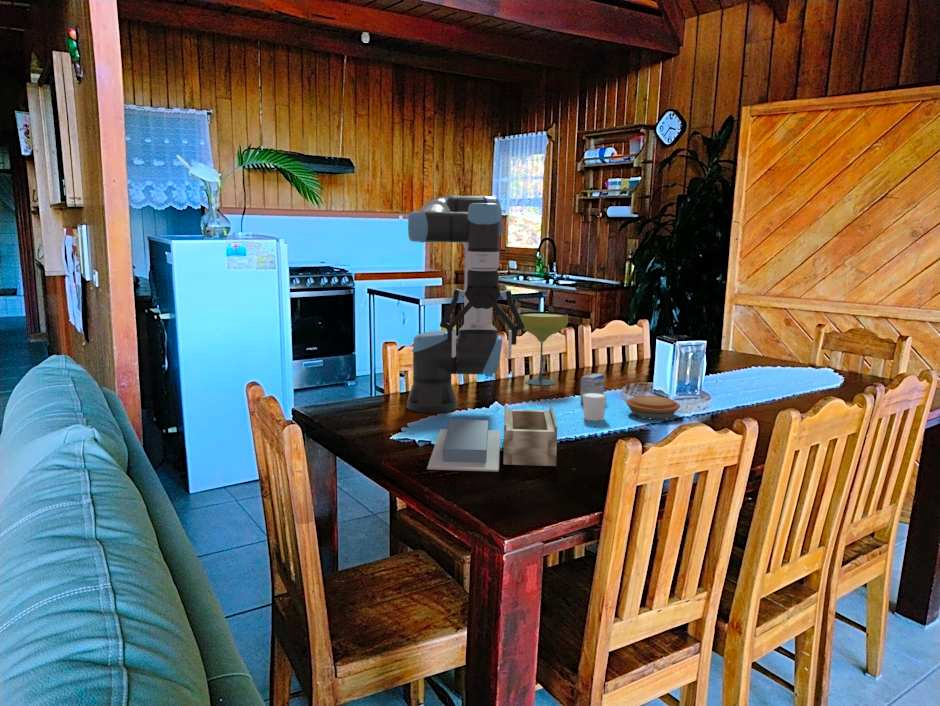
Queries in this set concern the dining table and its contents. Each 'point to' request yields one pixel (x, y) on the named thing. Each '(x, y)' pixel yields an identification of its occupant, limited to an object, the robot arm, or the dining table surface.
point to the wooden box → (530, 437)
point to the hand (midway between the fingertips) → (481, 357)
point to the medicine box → (592, 384)
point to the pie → (652, 407)
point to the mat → (490, 464)
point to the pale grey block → (466, 441)
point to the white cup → (594, 406)
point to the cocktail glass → (543, 333)
